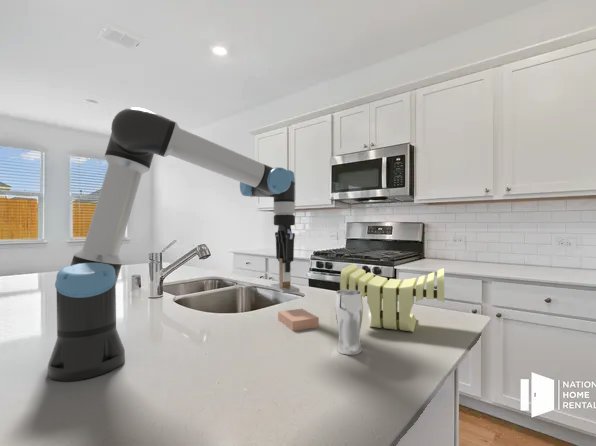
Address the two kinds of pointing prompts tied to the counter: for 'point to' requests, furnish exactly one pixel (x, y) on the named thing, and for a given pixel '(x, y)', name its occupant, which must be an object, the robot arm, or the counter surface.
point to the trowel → (284, 286)
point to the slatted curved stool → (391, 295)
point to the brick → (298, 319)
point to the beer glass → (349, 320)
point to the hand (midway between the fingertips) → (284, 280)
